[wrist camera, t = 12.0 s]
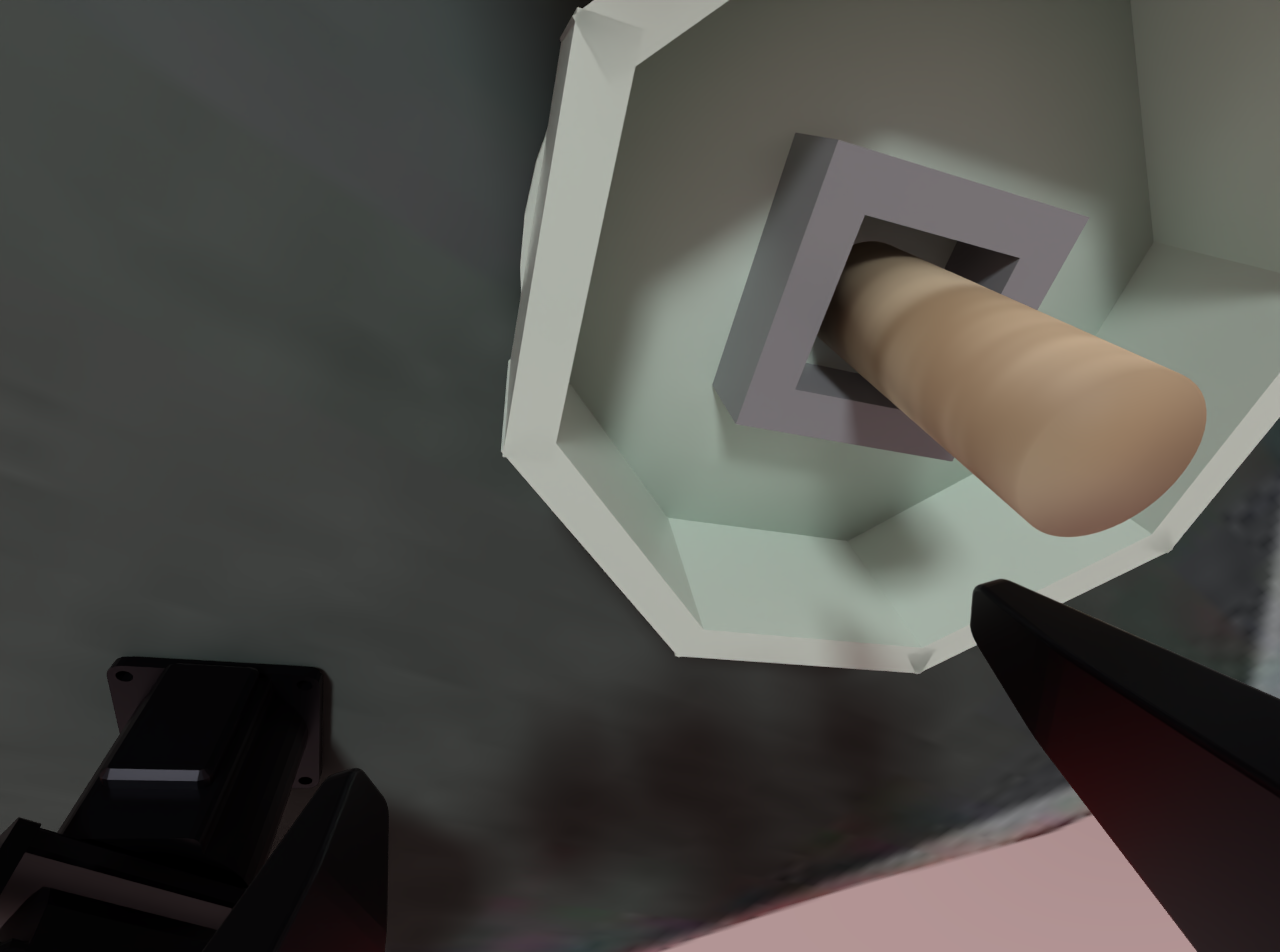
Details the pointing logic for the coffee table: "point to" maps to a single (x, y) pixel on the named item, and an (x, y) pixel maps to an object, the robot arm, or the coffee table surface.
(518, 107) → the coffee table surface
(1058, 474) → the beige rounded cylinder
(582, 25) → the octagonal white bin
